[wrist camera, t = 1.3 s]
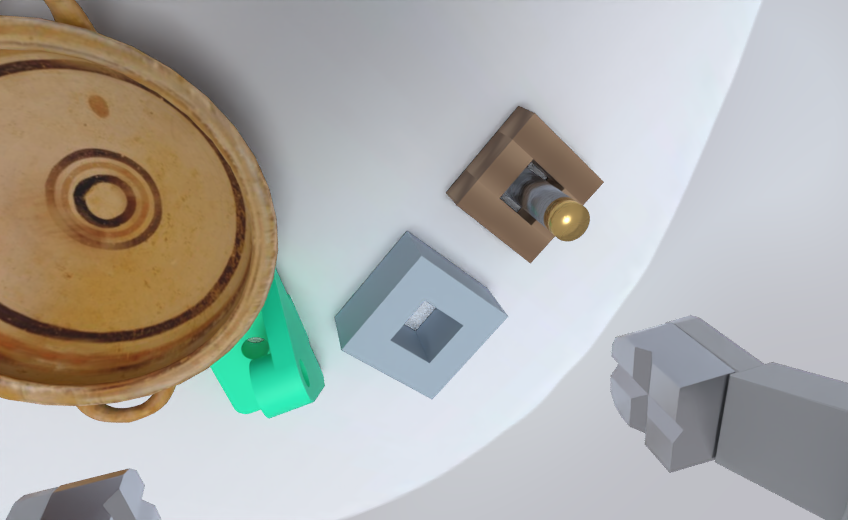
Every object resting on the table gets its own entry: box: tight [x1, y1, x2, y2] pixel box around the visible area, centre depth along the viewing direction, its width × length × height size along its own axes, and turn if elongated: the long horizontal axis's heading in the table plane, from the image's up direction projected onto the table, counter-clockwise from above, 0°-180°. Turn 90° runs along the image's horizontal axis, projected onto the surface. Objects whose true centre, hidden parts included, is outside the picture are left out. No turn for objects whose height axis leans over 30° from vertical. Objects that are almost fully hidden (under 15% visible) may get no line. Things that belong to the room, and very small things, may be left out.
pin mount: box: [446, 106, 604, 263], centre depth 45 cm, size 9×9×3 cm
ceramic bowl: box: [0, 0, 278, 423], centre depth 35 cm, size 30×24×8 cm
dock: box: [335, 231, 508, 399], centre depth 47 cm, size 10×10×5 cm
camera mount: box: [210, 268, 325, 418], centre depth 42 cm, size 12×8×10 cm, turn 15°
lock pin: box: [505, 168, 590, 241], centre depth 42 cm, size 3×3×10 cm
